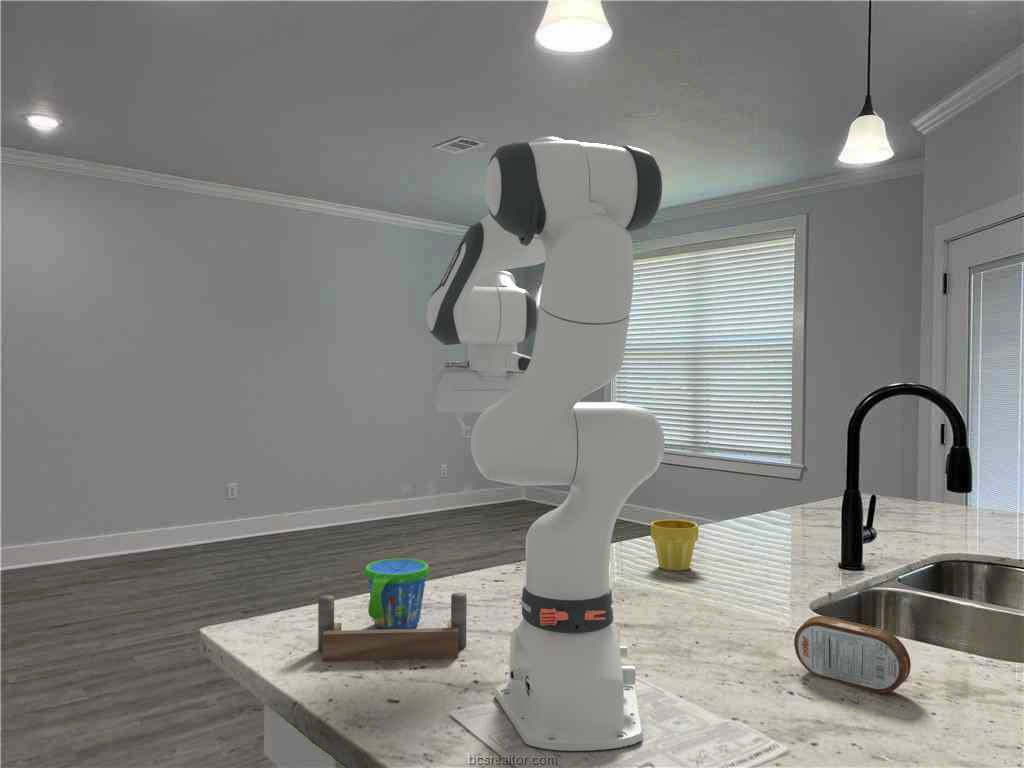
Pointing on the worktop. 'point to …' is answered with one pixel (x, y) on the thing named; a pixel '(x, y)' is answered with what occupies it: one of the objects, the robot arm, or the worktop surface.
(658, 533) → the plant pot
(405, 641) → the cradle
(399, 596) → the snack cup
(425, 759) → the worktop surface
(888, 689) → the tin
